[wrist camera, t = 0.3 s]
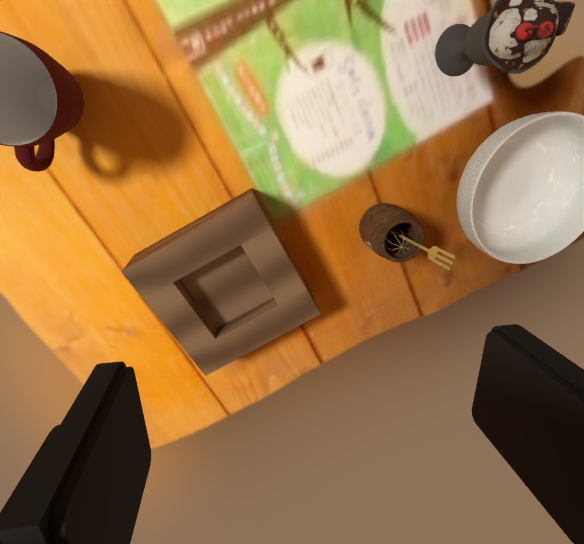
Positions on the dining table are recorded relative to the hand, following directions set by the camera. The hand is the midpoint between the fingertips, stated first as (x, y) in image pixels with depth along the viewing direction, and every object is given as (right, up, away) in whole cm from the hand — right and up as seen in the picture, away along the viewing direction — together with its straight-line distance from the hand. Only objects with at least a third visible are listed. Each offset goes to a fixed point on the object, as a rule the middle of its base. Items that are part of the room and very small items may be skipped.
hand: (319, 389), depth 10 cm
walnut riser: (-9, +3, +37) cm, 38 cm away
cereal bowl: (+26, +14, +38) cm, 48 cm away
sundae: (+17, +27, +31) cm, 45 cm away
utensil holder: (+11, +9, +37) cm, 40 cm away
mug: (-24, +19, +28) cm, 42 cm away
